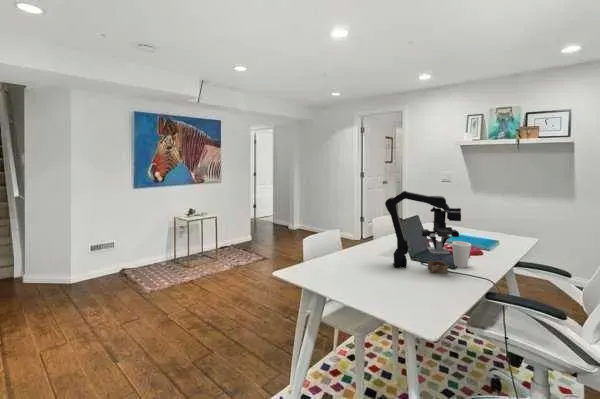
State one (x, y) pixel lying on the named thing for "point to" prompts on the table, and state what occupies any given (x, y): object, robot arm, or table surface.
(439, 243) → the lid
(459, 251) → the foam cup
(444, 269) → the walnut box
